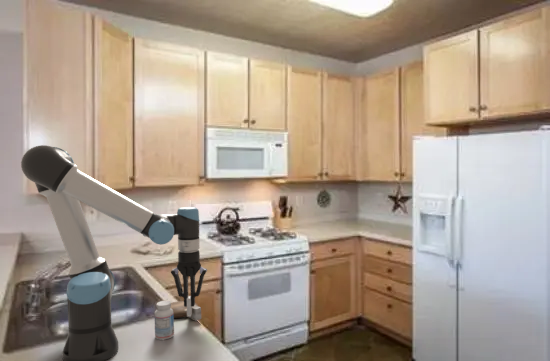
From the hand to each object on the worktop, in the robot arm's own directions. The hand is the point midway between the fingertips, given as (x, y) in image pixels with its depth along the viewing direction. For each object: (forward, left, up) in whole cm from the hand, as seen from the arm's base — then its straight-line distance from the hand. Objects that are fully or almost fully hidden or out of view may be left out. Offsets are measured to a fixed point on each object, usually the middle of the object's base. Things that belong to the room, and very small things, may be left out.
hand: (189, 315), depth 137 cm
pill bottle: (-6, -11, -3) cm, 13 cm away
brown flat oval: (-4, +8, -2) cm, 9 cm away
